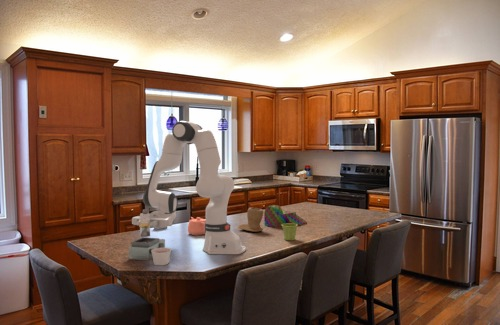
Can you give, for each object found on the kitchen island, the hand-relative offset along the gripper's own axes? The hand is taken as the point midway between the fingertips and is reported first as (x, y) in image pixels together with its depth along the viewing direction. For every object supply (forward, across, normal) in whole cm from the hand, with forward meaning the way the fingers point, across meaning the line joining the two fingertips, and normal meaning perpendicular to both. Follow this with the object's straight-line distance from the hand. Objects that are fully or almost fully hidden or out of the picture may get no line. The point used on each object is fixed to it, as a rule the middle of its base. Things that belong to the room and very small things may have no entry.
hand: (144, 224), depth 196 cm
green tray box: (-3, 0, +16) cm, 16 cm away
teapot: (-54, +7, +16) cm, 57 cm away
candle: (+9, +14, +16) cm, 23 cm away
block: (-94, +56, +16) cm, 111 cm away
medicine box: (-65, -24, +17) cm, 71 cm away
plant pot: (-51, +65, +16) cm, 84 cm away
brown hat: (-70, +38, +16) cm, 81 cm away
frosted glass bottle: (-1, 0, +6) cm, 6 cm away
